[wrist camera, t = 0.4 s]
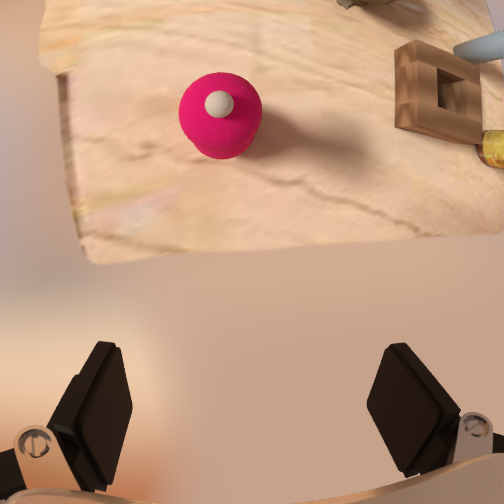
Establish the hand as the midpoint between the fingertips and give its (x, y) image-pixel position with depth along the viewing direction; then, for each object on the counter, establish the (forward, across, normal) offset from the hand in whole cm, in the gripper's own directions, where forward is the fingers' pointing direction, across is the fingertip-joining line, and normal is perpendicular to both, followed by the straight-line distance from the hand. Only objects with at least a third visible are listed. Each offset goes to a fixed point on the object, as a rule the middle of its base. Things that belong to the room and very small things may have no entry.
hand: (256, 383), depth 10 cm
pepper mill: (+31, +2, -10) cm, 33 cm away
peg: (+31, -35, -30) cm, 55 cm away
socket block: (+31, -27, -20) cm, 45 cm away
